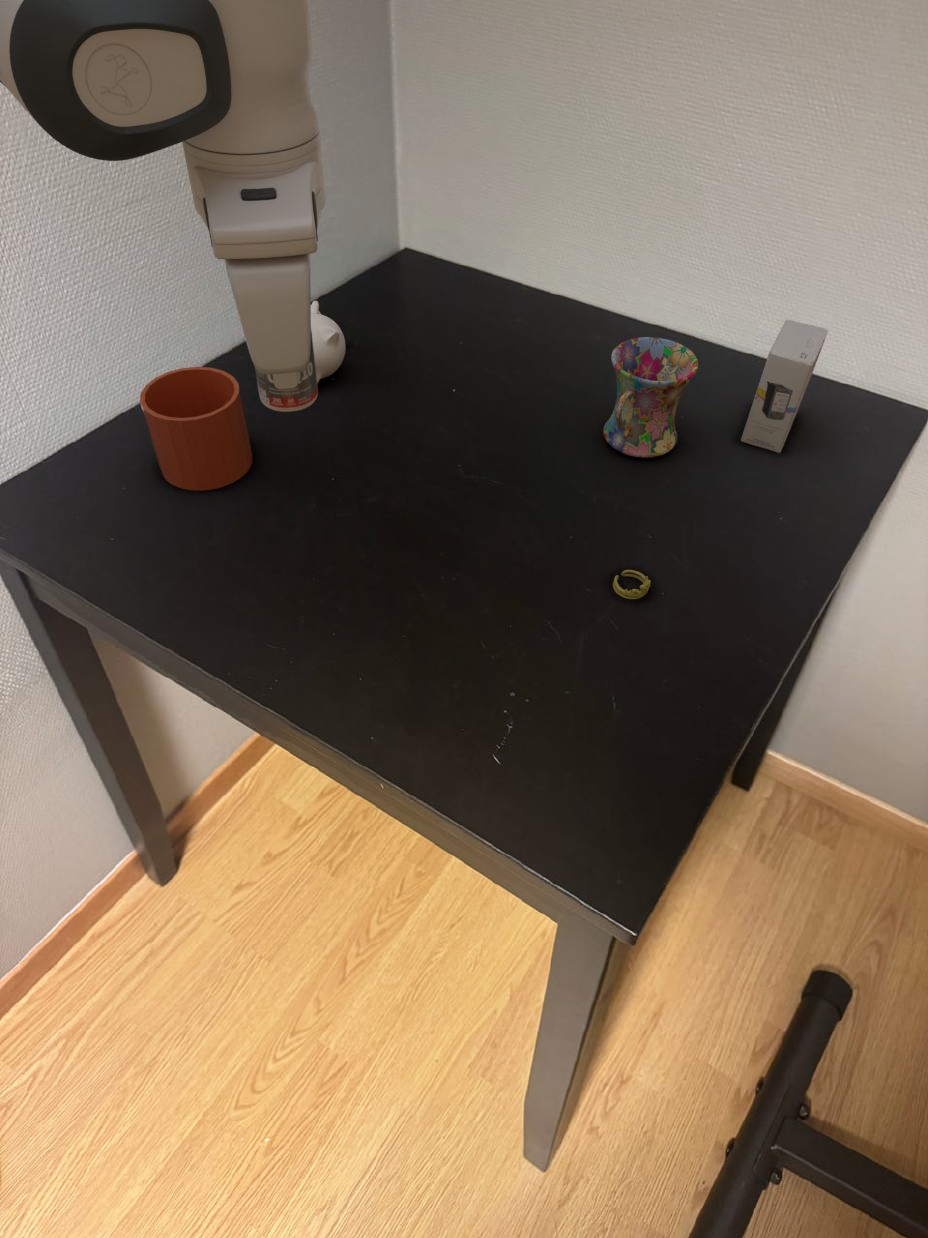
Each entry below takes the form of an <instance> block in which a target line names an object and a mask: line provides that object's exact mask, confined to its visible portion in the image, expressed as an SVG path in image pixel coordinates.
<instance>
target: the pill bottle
mask: <svg viewBox="0 0 928 1238" xmlns="http://www.w3.org/2000/svg"><path fill="white" fill-rule="evenodd" d="M253 365H254V364H253ZM254 372H255V373H254V374H255V378H256V385H257V391H258V394H259V395H258V396H259V400H260V402H261V403H262V405H264V407H266V408H268V409H270V410H272V411H276V412H283V413H290V412H297V411H302V410H305V409H307V408H308V407H310V406H312V405H313V404H314V403H315V402H316V400H317V398H318V396H319V387H318V384H317V377H316V367H315V359H314V349H313V340H312V331H311V350H310V361H309V365H308V368H307V369H306V370H304V371H300V372H297V377H298V385H297V386H296V387H295V388H289V389H278V388H276V387H275V385H274V381H273V374H261V373H259V372H258V371H257V369H256V367H255V365H254Z"/></svg>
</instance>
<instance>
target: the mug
mask: <svg viewBox="0 0 928 1238" xmlns="http://www.w3.org/2000/svg"><path fill="white" fill-rule="evenodd" d="M610 360H611V364H612V366H613V370H614V374H615V380H616V381H615V382H616V398H615V399H616V400H615V404H614V408H613V411H612V413H611V415H610V417H609V418H608V419H607V421H606V422H605V423H604V426H603V428H602V429H603V431H602V433H603V437H604V439H605V441H606V442H607V445H609V446H610V447H611V448H612V449H614V450H616V451H618V452H619V453H621V454H624V455H627V456H629V457H635V458H655V457H660V456H663V455H665V454H667V453H669V452H670V451H671V450H673V449H674V447H675V446H676V444H677V442H678V433H677V430H676V426H675V418H676V417H675V416H676V410H677V408H678V403H679V401H680V398H681V396H682V394H683V392H684V391H685V389H686V387H687V386H688V384H689V383H690V381H691V380H692V378H694V376H696V374H697V372H698V370H699V359H698V358H697V356H696V354H694V352H693V351H692V350H690V349H689V348H688V347H687V346H684V345H683V344H681V343H679V342H676V341H674V340H671V339H666V338H663V337H662V338H661V337H653V336H645V337H643V336H641V337H634V338H630V339H627V340H625V341H623V342H621V343H619V344H618V345H616V346H615V347H614V349H613V350H612V352H611V355H610Z"/></svg>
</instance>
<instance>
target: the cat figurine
mask: <svg viewBox="0 0 928 1238" xmlns="http://www.w3.org/2000/svg"><path fill="white" fill-rule="evenodd" d="M311 331H312V340H313V349H314V359H315V367H316V377H317V385H318V384H319V382H320V380H322V379H326V378H328V377H330V376H332V375H333V374H334V373H335V372H336V371H337V370H338V369H339V368H340V366H342V364H343V361H344V358H345V355H346V339H345V336H344V333H343V331H342V329H341V328H340V326H339V325H338V324H337V323H336V322H335V320H333V319H332V318H330V317H328V316H326V315H323V314H322V313H321V311H320V304H319V301H318V300H313V301H312V303H311Z"/></svg>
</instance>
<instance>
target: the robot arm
mask: <svg viewBox="0 0 928 1238" xmlns="http://www.w3.org/2000/svg"><path fill="white" fill-rule="evenodd" d="M311 32H312V31H311V21H310V13H309V3H308V0H0V83H1V84H2V85H3V86H4V87H5V88H6V89H7V90H8V91H9V92H10V93H11V94H12V96H13V97H14V98H15V99H16V101H17V102H18V103H19V104H20V106H21V107H22V108H23V109H24V110H25V111H26V112H27V114H28V115H29V116H30V117H31V118H32V119H33V120H34V121H35V122H36V123H37V125H39V127H40V128H41V129H43V130H44V131H45V133H47V134H48V135H49V136H50V137H51V138H52V139H54V140H55V141H56V142H58V143H59V144H60V145H62V146H63V147H65V148H67V149H69V150H70V151H72V152H74V153H76V154H79V155H81V156H84V157H87V158H90V159H93V160H99V161H105V162H106V161H107V162H123V161H129V160H132V159H137V158H139V157H144V156H146V155H150V154H152V153H155V152H158V151H162V150H165V149H167V148H170V147H172V146H175V145H178V144H181V143H182V148H183V153H184V160H185V163H186V170H187V174H188V179H189V184H190V189H191V194H192V199H193V205H194V209H195V211H196V212H197V215H199V216H200V217H201V219H202V221H203V223H204V224H205V227H206V228H207V230H208V234H209V239H210V244H211V248H212V251H213V255H214V257H215V258H216V259H217V260H224V264H225V269H226V272H227V278H228V279H229V280H228V281H229V284H230V288H231V292H232V295H233V299H234V302H235V307H236V310H237V314H238V317H239V320H240V321H239V322H240V325H241V328H242V332H243V336H244V339H245V343H246V346H247V349H248V353H249V355H250V359H251V361H252V364H253V365H255V366H254V368H255V367H256V369H257V371H258V372H259V373H261V374H273V381H274V385H275V387H276V388H278V389H289V388H295V387H296V386H297V385H298V377H297V372H300V371H304V370H306V369H307V368H308V365H309V361H310V350H311V305H312V303H311V301H312V298H311V254H315V253H317V251H318V241H319V238H318V236H319V235H318V226H319V225H318V224H319V220H320V218H321V214H322V210H323V209H324V208H325V205H326V198H327V197H326V188H325V176H324V175H325V174H324V165H323V155H322V154H323V153H322V144H321V143H322V141H321V131H320V122H319V118H318V114H317V111H316V109H315V107H314V104H313V101H312V95H311V89H310V70H311V65H312V60H313V42H312V33H311Z"/></svg>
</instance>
